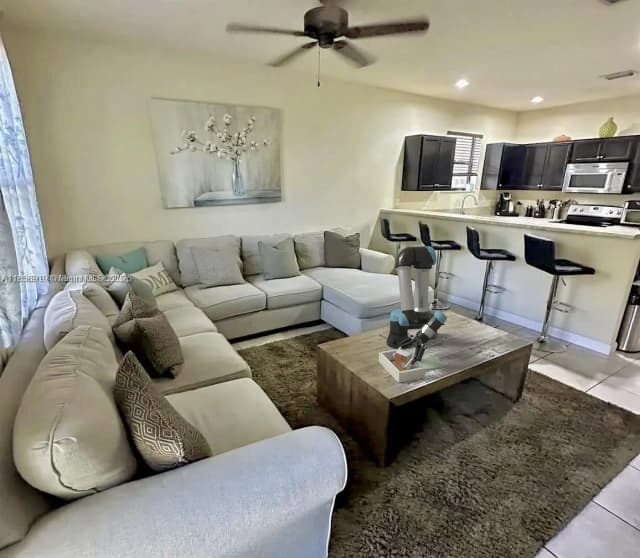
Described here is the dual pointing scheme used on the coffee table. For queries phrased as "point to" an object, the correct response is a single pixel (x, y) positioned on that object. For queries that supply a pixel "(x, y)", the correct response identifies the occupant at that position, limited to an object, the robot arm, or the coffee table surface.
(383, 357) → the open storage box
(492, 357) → the coffee table surface
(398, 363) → the small box
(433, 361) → the sage pad
